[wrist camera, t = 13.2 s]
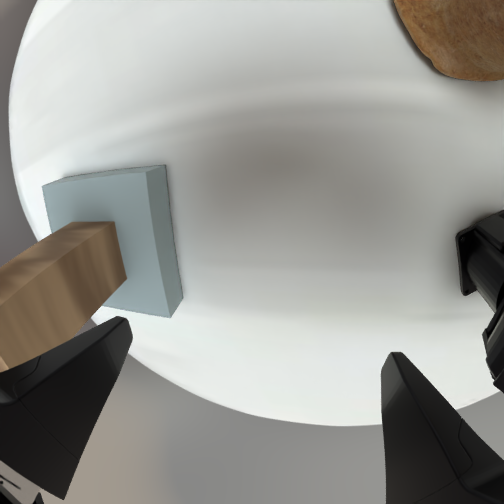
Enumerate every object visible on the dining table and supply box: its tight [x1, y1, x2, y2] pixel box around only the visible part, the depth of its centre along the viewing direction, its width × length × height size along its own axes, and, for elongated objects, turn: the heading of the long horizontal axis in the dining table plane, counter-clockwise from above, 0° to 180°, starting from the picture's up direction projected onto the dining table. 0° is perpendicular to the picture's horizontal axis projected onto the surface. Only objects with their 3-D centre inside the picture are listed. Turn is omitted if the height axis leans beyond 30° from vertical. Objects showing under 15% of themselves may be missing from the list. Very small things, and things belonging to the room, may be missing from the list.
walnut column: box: [0, 221, 127, 372], centre depth 15 cm, size 5×5×13 cm
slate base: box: [42, 165, 183, 318], centre depth 22 cm, size 12×12×3 cm
